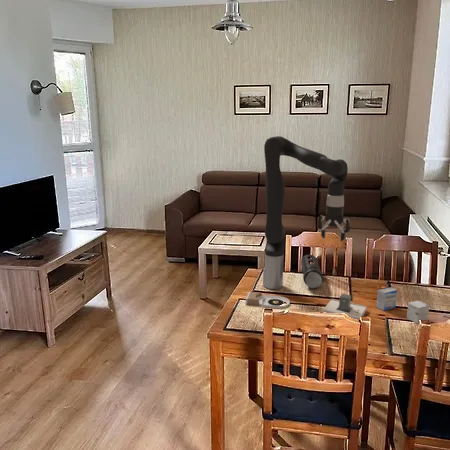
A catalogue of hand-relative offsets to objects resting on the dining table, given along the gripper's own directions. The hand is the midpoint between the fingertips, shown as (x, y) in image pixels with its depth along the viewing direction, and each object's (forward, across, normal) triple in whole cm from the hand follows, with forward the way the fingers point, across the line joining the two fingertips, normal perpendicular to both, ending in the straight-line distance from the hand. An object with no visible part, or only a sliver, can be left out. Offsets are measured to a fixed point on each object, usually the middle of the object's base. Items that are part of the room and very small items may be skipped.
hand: (332, 239), depth 206 cm
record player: (+31, -24, -16) cm, 42 cm away
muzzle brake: (+30, -16, +20) cm, 40 cm away
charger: (+30, +10, -10) cm, 33 cm away
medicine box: (+30, +25, +5) cm, 40 cm away
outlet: (+30, +10, -10) cm, 33 cm away
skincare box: (+30, +39, -1) cm, 49 cm away
